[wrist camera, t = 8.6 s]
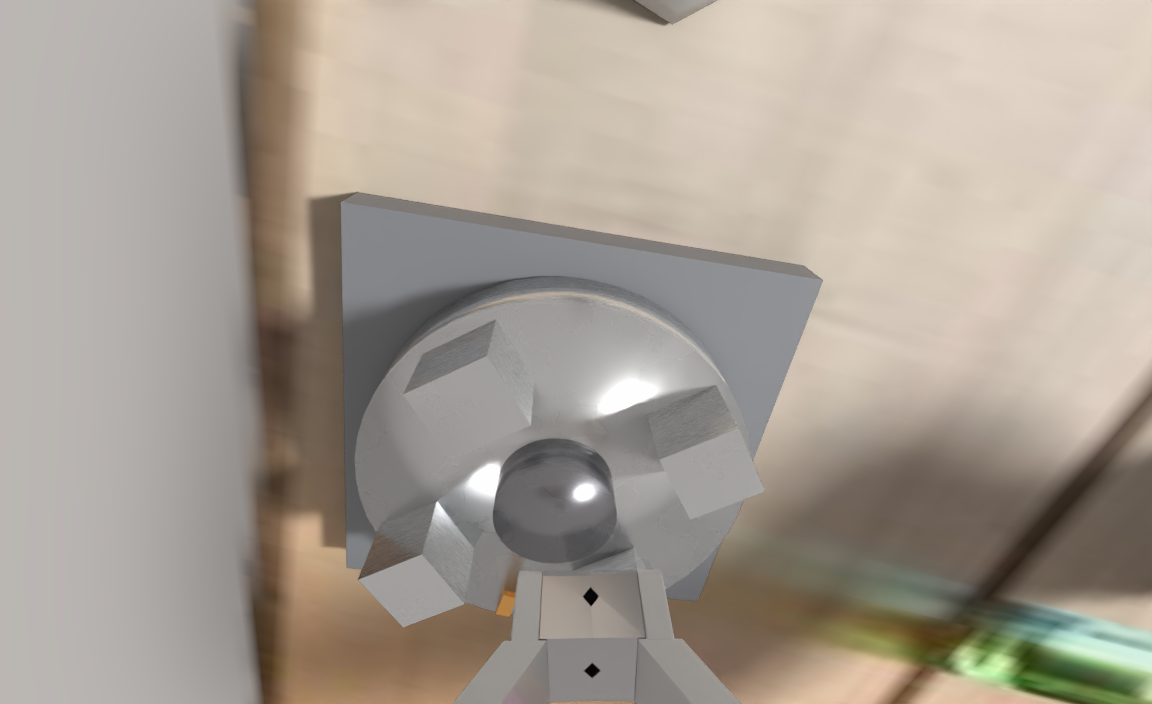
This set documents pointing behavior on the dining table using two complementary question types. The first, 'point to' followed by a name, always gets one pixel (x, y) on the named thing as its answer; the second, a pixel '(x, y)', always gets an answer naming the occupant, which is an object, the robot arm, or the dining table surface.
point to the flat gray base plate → (533, 249)
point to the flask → (674, 8)
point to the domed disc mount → (545, 447)
